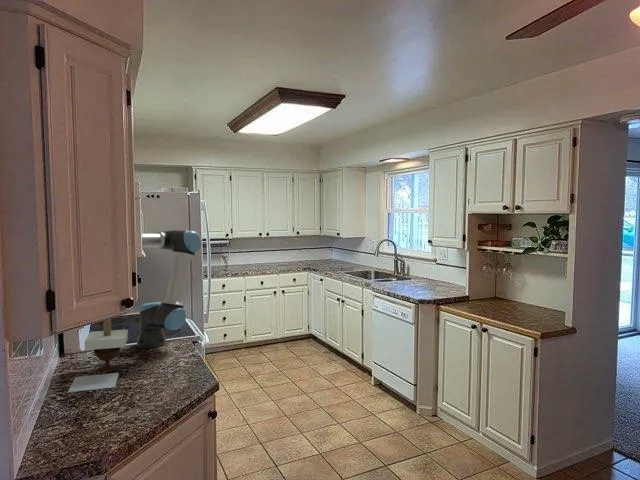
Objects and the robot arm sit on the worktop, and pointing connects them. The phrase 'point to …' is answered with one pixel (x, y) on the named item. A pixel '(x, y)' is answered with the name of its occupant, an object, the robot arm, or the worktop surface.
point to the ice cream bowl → (107, 356)
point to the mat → (94, 382)
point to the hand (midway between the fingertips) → (107, 310)
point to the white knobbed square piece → (106, 338)
